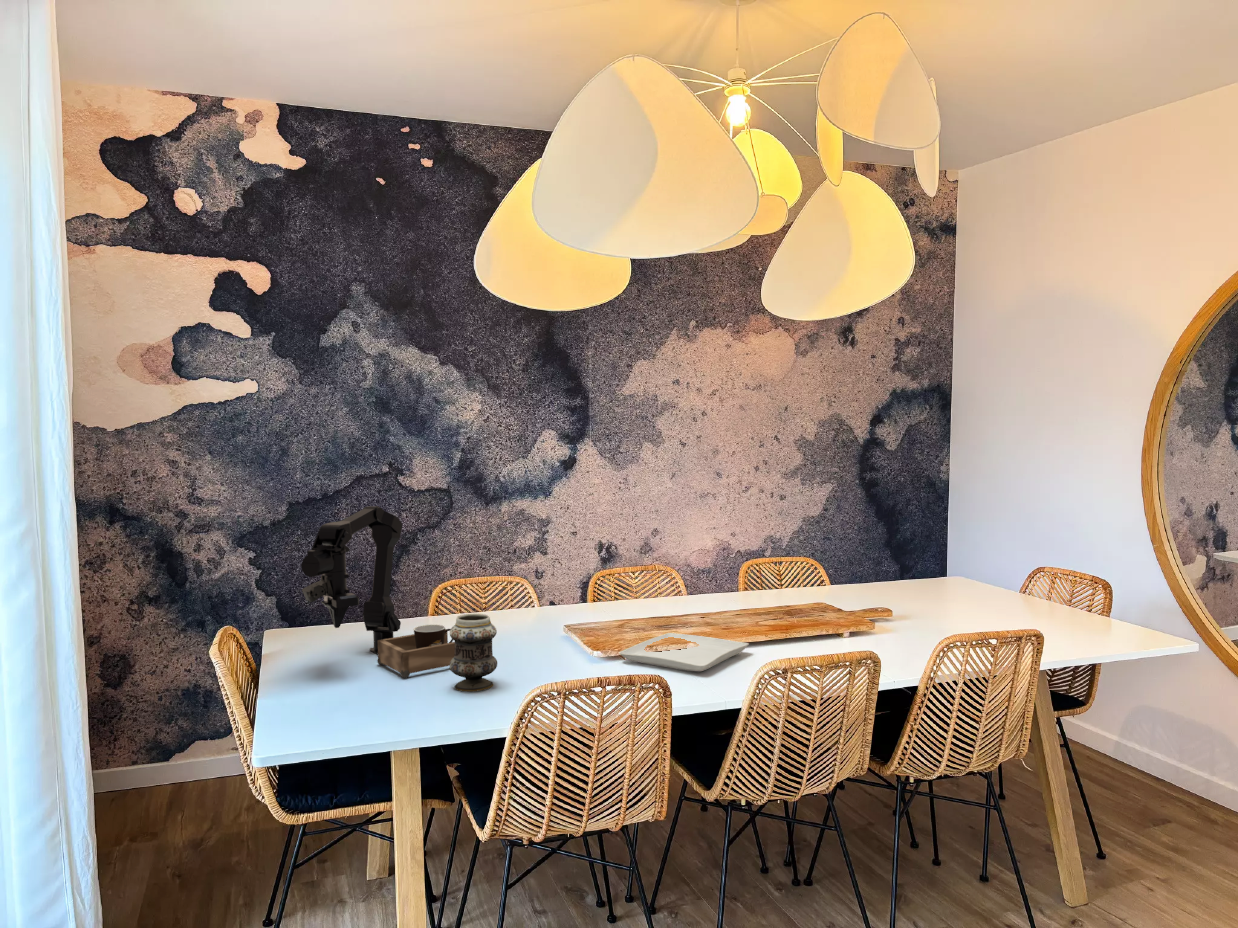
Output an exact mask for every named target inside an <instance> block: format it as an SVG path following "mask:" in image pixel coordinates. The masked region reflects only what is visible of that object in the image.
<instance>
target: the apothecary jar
mask: <svg viewBox="0 0 1238 928" xmlns="http://www.w3.org/2000/svg"><path fill="white" fill-rule="evenodd" d="M450 629H451V630H450V631H449V637H450V638H451V639H453V641H454V642H455V653H454V658H453V659H452V660H451V661H450V665H449V671H450V672H452V674H454V675H456V676H458V677H462V678H465V679H462V680H460V681H459V682H456V683H455V684H454V689H455V690H456V691H458V692H459V691H460V692H465V693H476V692H483V691H487V690H490V689H491V688H493V687H494V682H493V681H492V680H489V679H487V678H485V677H486V676H488V675H490V674H492V673H494V671H495V670H496V669H497V667H498V659H497V658H496V657H495V656H493V639H494V638H495V637H496V635H497V627H496V626H495V625H494V624H493V623H492V621H491V616H490V615H488V614H485V613H464V614H460V615H458V616H456V619H455V623H454V625H453V626H452V627H451V628H450Z"/></svg>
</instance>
